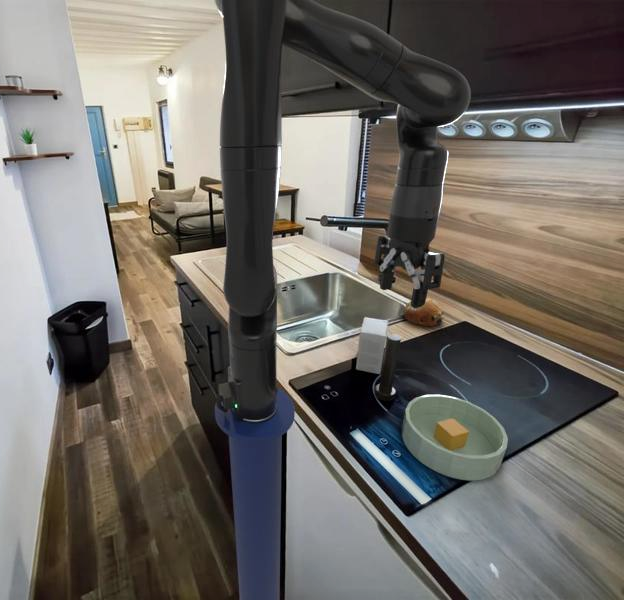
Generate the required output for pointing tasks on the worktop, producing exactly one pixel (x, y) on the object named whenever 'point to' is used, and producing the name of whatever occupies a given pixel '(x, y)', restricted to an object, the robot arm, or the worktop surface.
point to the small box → (371, 345)
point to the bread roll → (424, 313)
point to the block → (451, 434)
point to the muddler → (388, 368)
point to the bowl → (463, 461)
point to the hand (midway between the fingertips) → (400, 297)
